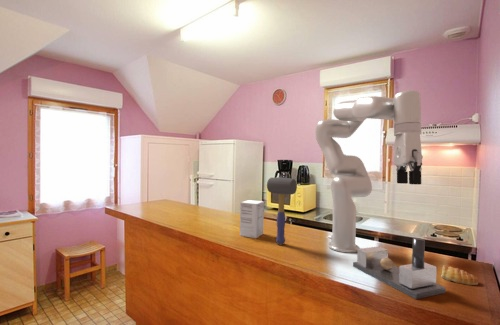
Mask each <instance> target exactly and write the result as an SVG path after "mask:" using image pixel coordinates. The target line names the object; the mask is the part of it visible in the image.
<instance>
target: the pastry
mask: <svg viewBox="0 0 500 325" xmlns="http://www.w3.org/2000/svg"><path fill="white" fill-rule="evenodd" d="M440 277H441V278H443V279H444V280H446V281H449V282H450V281H452V282H453V283H457V284H464V285H466V286H467V285H468V286H472V285H473V286H474V285H475V286H477V285H479V279H478V277H476V276H475V275H474V274H472V273H469V272H467V271H465V270H464V269H460V268H458V267H454V266H447V265H442V272H441V275H440Z"/></svg>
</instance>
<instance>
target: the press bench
mask: <svg viewBox="0 0 500 325" xmlns="http://www.w3.org/2000/svg"><path fill="white" fill-rule="evenodd" d="M356 253H357V258H356V261H352V267H353V268H355V269H357V270H359V271H361V272H362V273H365V274H366V275H369V276H371V278H374V279H375V280H378V281H380V282H382V283H384V284H386V285H388V286H389V287H392V288H394V289H395V290H397V291H399V292H401V293H402V294H405V295H407V296H409V297H410V298H412V299H414V300H418V299H423V298H427V297H431V296H435V295H436V296H437V295H441V294H446V292H447V291H446V287H445V286H444V285H441V284H439V283H436V284H433V285H428V286H423V287H418V288H413V289H411V288H409V287H407V286H405V285H403V284H401V283H399V273H400V266H396V265H394V266H393V268H392V269H391V270H384V269H383V268H382V267H381V265H380V261H381V259H383V258H389V249H387V248H384V247H383V246H382V247H381V246H371V247H362V248H359V249H358V251H357V252H356Z"/></svg>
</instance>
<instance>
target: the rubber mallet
mask: <svg viewBox="0 0 500 325" xmlns="http://www.w3.org/2000/svg"><path fill="white" fill-rule="evenodd" d="M297 189H298V183H297V180H296V179H295V178H289V177H282V176H281V177H278V176H277V177H270V178H268V180H267V182H266V190H267V191H268V192H269V193H273V194H278V207H277V208H278V210H277V215H276V216H277V217H276V227H277V228H276V230H277V231H276V239H275V241H276V243H277V245H280V246H281V245H284V244H285V243H286V242H285V241H286V238H285V228H286V227H285V226H286V213H285V195H295V194H296V192H297V191H298V190H297Z"/></svg>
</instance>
